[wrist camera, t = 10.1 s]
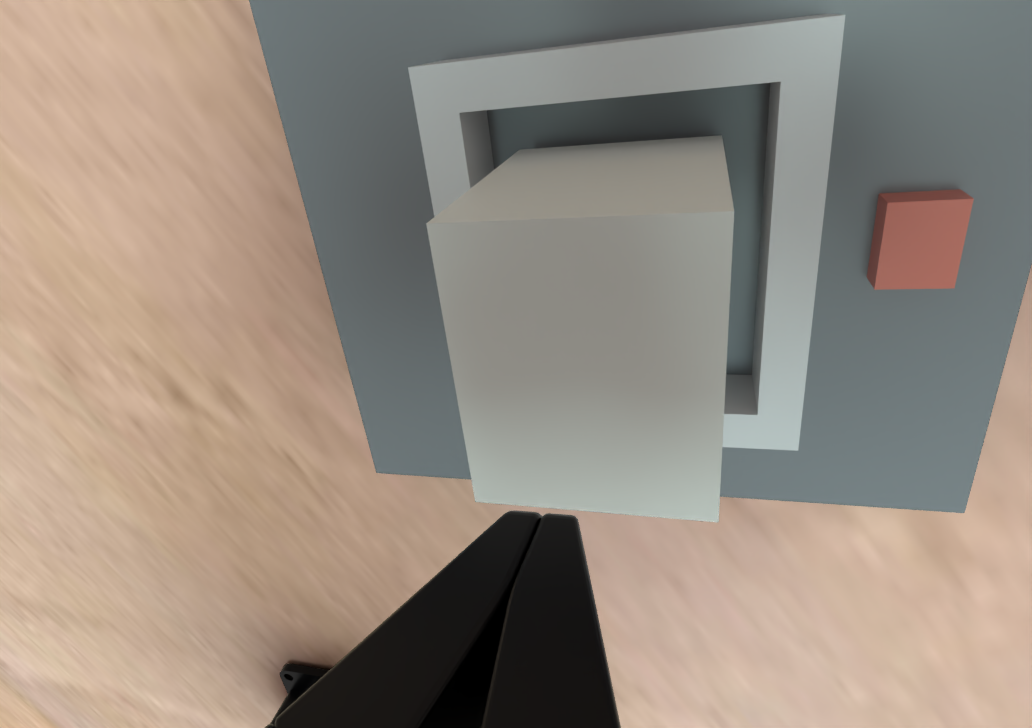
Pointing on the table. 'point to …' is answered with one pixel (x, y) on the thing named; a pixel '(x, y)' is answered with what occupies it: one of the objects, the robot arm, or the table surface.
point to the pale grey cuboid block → (592, 325)
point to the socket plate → (755, 193)
